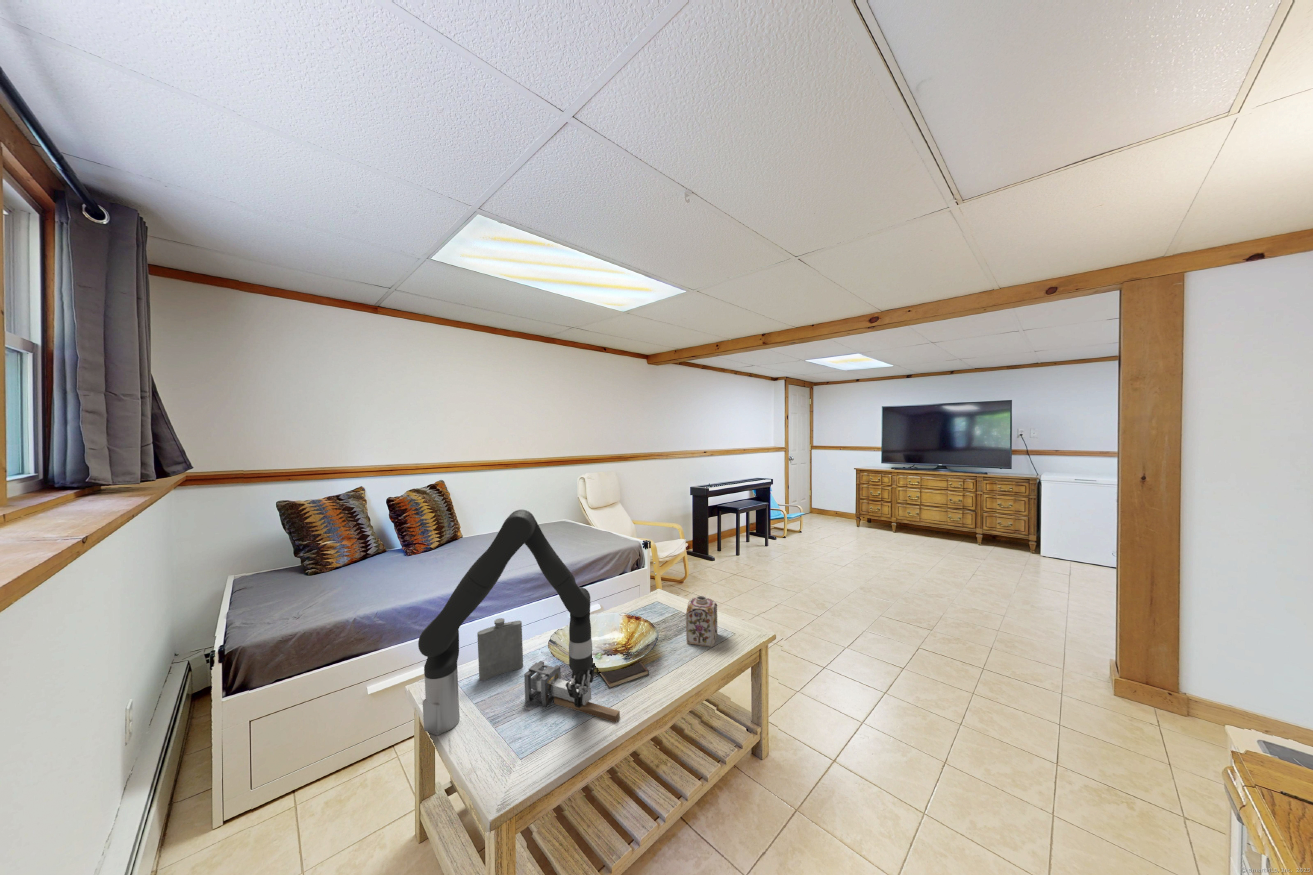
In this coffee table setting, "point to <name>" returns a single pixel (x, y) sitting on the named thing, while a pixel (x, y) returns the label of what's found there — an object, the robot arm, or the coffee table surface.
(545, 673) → the frame
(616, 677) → the hardcover book
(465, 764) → the coffee table surface
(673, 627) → the coffee table surface
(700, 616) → the decorative jar
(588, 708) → the walnut rail
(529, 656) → the coffee table surface
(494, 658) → the hip flask
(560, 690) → the square steel tube
